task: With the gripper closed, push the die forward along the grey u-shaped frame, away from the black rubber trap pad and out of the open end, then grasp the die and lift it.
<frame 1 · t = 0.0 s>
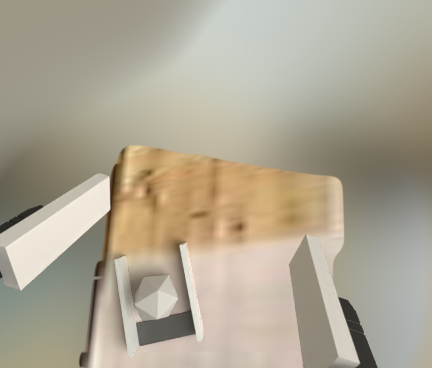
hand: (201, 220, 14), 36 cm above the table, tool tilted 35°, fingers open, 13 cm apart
grey u-shaped frame: (161, 292, 48), on the table
die: (161, 290, 48), on the table
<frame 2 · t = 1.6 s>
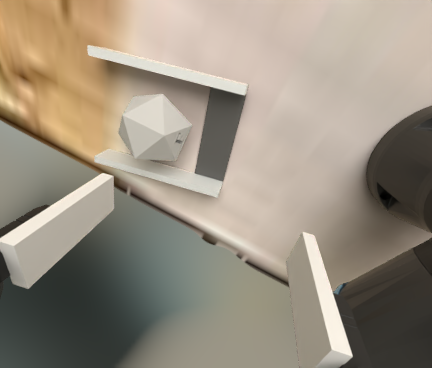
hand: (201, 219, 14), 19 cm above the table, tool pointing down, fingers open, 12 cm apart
grey u-shaped frame: (169, 124, 31), on the table
die: (167, 122, 31), on the table
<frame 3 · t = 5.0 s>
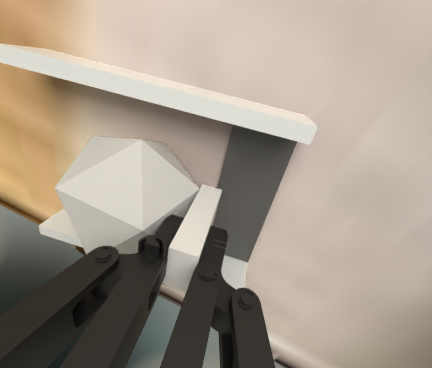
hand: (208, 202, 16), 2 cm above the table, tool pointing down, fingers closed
grey u-shaped frame: (161, 175, 19), on the table
die: (157, 172, 19), on the table, touching gripper
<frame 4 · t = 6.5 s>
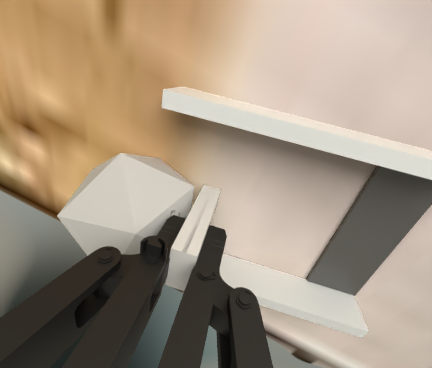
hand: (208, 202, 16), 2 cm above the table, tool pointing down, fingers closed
grey u-shaped frame: (278, 210, 18), on the table
die: (162, 188, 20), on the table, touching gripper
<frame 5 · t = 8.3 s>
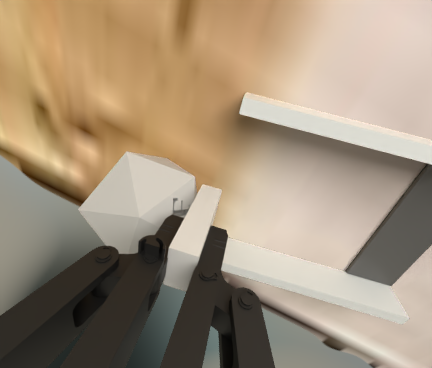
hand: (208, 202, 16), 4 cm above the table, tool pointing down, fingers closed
grey u-shaped frame: (326, 207, 19), on the table
die: (173, 186, 21), on the table, touching gripper
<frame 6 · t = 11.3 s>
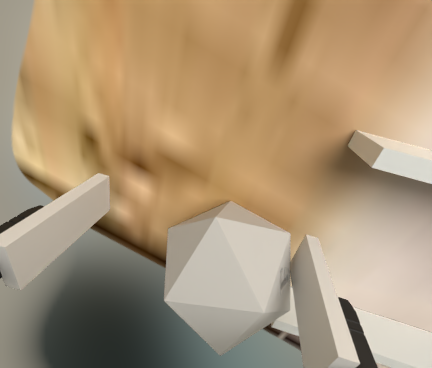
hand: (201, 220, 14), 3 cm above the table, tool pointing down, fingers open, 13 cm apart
die: (234, 229, 18), on the table
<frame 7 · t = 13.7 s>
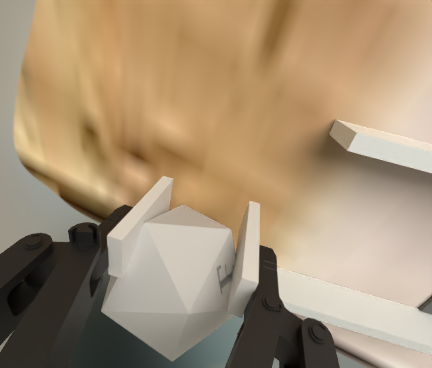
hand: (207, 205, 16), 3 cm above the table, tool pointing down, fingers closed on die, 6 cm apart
grey u-shaped frame: (408, 243, 17), on the table
die: (195, 232, 18), point 2 cm above the table, touching gripper
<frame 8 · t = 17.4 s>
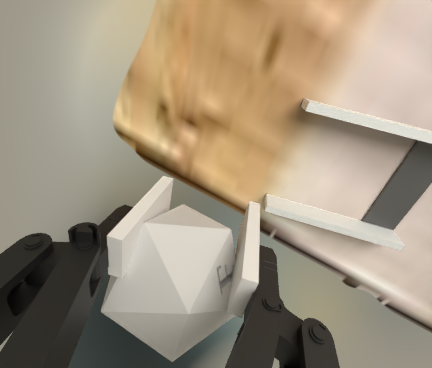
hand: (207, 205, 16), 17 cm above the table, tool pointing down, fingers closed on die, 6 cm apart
grey u-shaped frame: (350, 173, 30), on the table
die: (195, 232, 18), point 16 cm above the table, touching gripper
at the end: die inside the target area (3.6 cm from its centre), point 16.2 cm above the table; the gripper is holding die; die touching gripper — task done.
